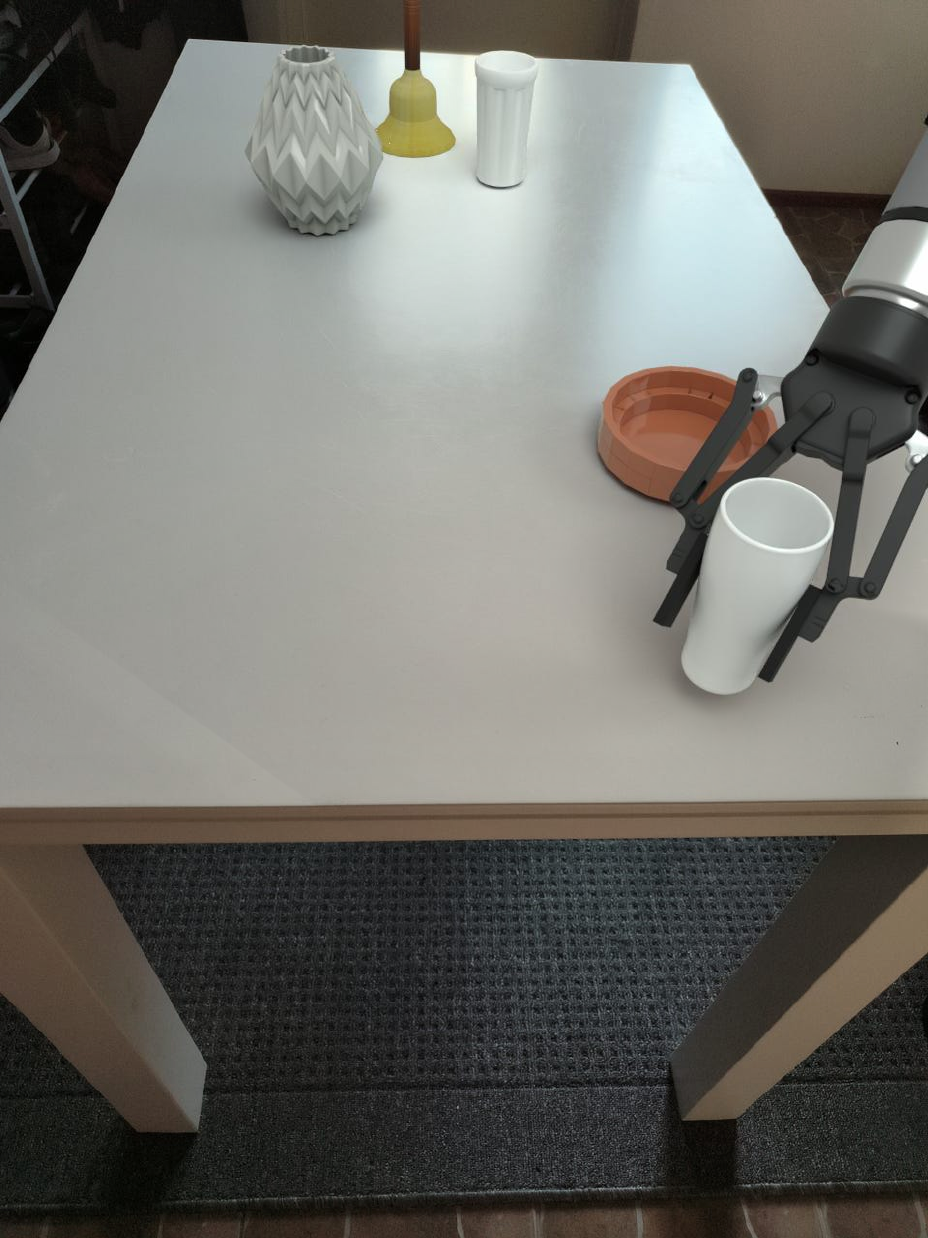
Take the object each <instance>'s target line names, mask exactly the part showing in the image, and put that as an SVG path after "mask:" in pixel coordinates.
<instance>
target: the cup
mask: <svg viewBox="0 0 928 1238" xmlns="http://www.w3.org/2000/svg"><path fill="white" fill-rule="evenodd" d="M539 67H540V63H539V61H538V59H536V58H535V57H534V56H532V55H531V54H527V53H525V52H520V51H515V50H493V51H491V50H490V51H487V52H483V53H481V54H479V55H478V56H476V57H475V60H474V76H475V78H476V178H477V179H478V180H479V182H481V183H483V184H485V185H487V186H492V187H500V188H504V187H505V188H506V187H507V188H508V187H513V186H516V185H518V184H521V182H522V181H523V180H524V170H525V163H526V154H527V146H528V138H529V130H530V121H531V112H532V105H533V97H534V90H535V82H536V80H537V78H538V74H539Z"/></svg>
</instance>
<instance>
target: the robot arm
mask: <svg viewBox="0 0 928 1238" xmlns="http://www.w3.org/2000/svg"><path fill="white" fill-rule="evenodd" d="M841 292H842V296H843V298H841V299H838V300H837V301H835V302H833V304H832V306H831V307H830V310H829V311H828V312H827V315H826V317H825V318H824V320H823V323H821V326H820V327H819V330H818V332H817V333H816V335H815V337H814V339H813V340H812V342H811V344H810V346H809V348H808V350H807V352H805V353H806V354H805V355H804V357H803V359H802V360H801V362H800V363H799V364H798V365H797V366H796V367H795V368H793V369H792V370H790V371H789V372H788V373H786V375H785V376H784V377H782V376H775V375H766V374H759V373H758V372H757V370H756V369H754V368H753V367H745V368H743V369H742V370H740V372H739V373H738V376H737V380H736V381H737V383H736V387H735V391H734V395H733V399H732V402H731V403H730V405H729V406H728V408H727V409H726V411H725V412H724V414H723V415H722V417H721V418H720V420H719V421H718V423H717V425H716V426H715V428H714V429H713V431H712V432H711V434H710V435H709V437H708V438H707V440H706V441H705V443H704V444H703V446H702V447H701V449H700V450H699V452H698V453H697V455H696V456H695V458H694V459H693V461H692V462H691V464H690V465H689V467H688V468H687V470H686V471H685V473H684V474H683V476H682V477H681V479H680V480H679V482H678V483H677V485H676V486H675V488H674V489H673V491H672V492H671V494H670V496H669V501H670V502H669V501H668V502H669V503H670V505H672V507H673V508H674V509H675V510H676V511H677V512H678V513H679V514H680V515H681V516H682V517H683V519H684V523H685V525H684V529H683V531H682V532H681V534H680V536H679V538H678V540H677V542H676V544H675V546H674V548H673V549H672V551H671V553H670V554H669V557H668V559H667V560H666V566H665V567H666V568H665V570H667V571H668V572H671V573H672V574H675V575H676V577H675V578H674V580H673V582H672V584H671V586H670V587H669V589H668V591H667V593H666V595H665V596H664V598H663V601H662V602H661V603H660V606H659V608H658V610H657V611H656V613H655V616H654V617H653V619H652V622H653V623H656V624H657V625H659V626H661V627H664V628H670V629H671V628H672V627H673V624H674V622H675V621H676V619H677V617H678V616H679V614H680V611H681V610H682V608H683V606H684V604H685V602H686V601H687V599H688V597H689V596H690V593H691V591H692V589H693V587H694V586H695V584H696V582H697V581H698V578H699V573H700V568H701V563H702V558H703V554H704V549H705V545H706V542H707V538H708V535H709V532H710V529H711V526H712V523H713V520H714V517H715V515H716V512H717V509H718V507H719V505H720V502H721V499H722V497H723V495H724V493H725V492H726V491H727V490H728V489H729V488H730V487H731V486H733V485H734V484H736V483H738V482H741V481H743V480H747V479H752V478H770V476H771V475H773V474H774V473H775V472H776V471H777V470H778V469H779V468H780V467H781V466H783V465H784V464H786V463H787V462H789V461H790V460H791V459H792V458H794V456H795V455H797V454H799V455H801V456H804V457H806V458H812V459H817V460H818V459H819V460H822V461H823V463H825V464H827V465H828V466H829V467H830V468H832V469H835V470H837V471H840V472H842V473H841V480H840V481H841V482H840V489H839V494H838V501H837V507H836V508H837V509H836V513H835V520H834V530H833V534H832V537H831V539H832V540H831V544H830V545H831V546H830V552H829V558H828V564H827V570H826V577H825V581H824V584H823V586H822V588H820V587H817V586H816V585H813V584H812V583H811V584H810V585H809V587H808V588H807V590H806V592H805V593H804V595H803V597H802V599H801V600H800V602H799V604H798V605H797V607H796V609H795V610H794V612H793V614H792V615H791V617H790V618H789V620H788V622H787V623H786V625H785V626H784V628H783V630H782V631H781V633H780V635H779V636H778V638H777V640H776V642H775V644H774V645H773V647H772V650H771V652H769V654H768V657H767V659H765V662H764V664H763V666H762V667H761V668H760V670H759V672H758V674H757V675H756V678H758V679H761V680H763V681H765V683H768V684H769V683H773V682H774V680H775V678H776V676H777V675H778V673H779V671H780V670H781V667H782V666H783V664H784V662H785V661H786V659H787V657H788V655H789V653H790V652H791V650H792V649H793V647H794V645H795V643H796V641H797V639H798V638H801V639H803V640H805V641H807V642H809V643H812V644H813V643H815V641H817V640H818V639H820V637H821V635H822V634H823V632H824V630H825V628H826V626H827V625H828V623H829V621H830V620H831V618H832V616H833V614H834V612H835V611H836V609H837V607H838V606H839V604H840V603H841V602H842V601H843V600H847V599H856V600H857V599H858V600H865V601H874V600H877V598H879V596H880V595H881V592H882V591H883V588H884V587H885V583H886V582H887V579H888V577H889V575H890V572H891V570H892V568H893V566H894V563H895V561H896V559H897V557H898V554H899V553H900V549H901V548H902V546H903V543H904V541H905V539H906V537H907V534H908V532H909V529H910V527H911V525H912V523H913V520H914V518H915V516H916V514H917V511H918V509H919V507H920V505H921V502H922V501H923V498H924V495H925V494H926V491H927V490H928V436H927V435H926V434H924V433H922V432H921V431H920V430H918V428H919V413H920V410H921V408H922V406H923V404H924V402H925V401H926V399H927V397H928V125H927V126H926V130H925V131H924V133H923V135H922V137H921V139H920V140H919V143H918V145H917V147H916V148H915V151H914V152H913V155H912V156H911V159H910V161H909V162H908V164H907V166H906V167H905V170H904V172H903V173H902V175H901V177H900V180H899V181H898V183H897V185H896V187H895V189H894V191H893V193H892V195H891V197H890V198H889V201H887V204H886V206H885V208H884V210H883V212H882V214H881V216H880V218H879V220H878V223H877V225H876V226H875V228H874V229H873V230H872V232H871V233H870V235H869V237H868V239H867V242H866V243H865V245H864V247H863V248H862V250H861V252H860V254H859V255H858V257H857V259H856V261H855V263H854V265H853V266H852V268H851V270H850V272H849V273H848V275H847V277H846V279H845V281H844V283H843V285H842V288H841ZM778 397H780V398H781V404H782V411H783V417H784V423H783V424H782V425H781V426H780V427H778V430H777V431H776V432H775V433H774V434H773V435H772V436H771V437H770V438H769V439H768V441H767V442H766V444H765V445H764V446H763V447H761V448H760V449H759V450H758V451H757V452H756V453H755V454H754V455H753V456H752V457H751V458H750V459H749V460H748V461H746V462H745V463H744V464H743V465H742V466H741V467H740V468H739V469H738V470H737V471H736V472H735V473H734V474H733V475H731V476H730V477H729V478H728V479H727V480H726V481H725V482H724V483H723V484H722V485H721V486H720V487H719V488H718V489H717V490H715V491H714V492H713V493H712V494H711V495H710V496H709V497H708V498H707V499H706V500H705V501H704V502H703V503H702V504H700V505H698V504H697V501H698V500H699V498H700V497H701V495H702V494H703V492H704V491H705V489H706V488H707V486H708V485H709V483H710V482H711V480H712V479H713V477H714V476H715V474H716V473H717V471H718V470H719V468H720V467H721V465H722V464H723V462H724V461H725V460H726V458H727V457H728V455H729V454H730V452H731V451H732V449H733V448H734V446H735V445H736V443H737V442H738V440H739V439H740V437H741V436H742V434H743V433H744V431H745V430H746V428H747V427H748V425H749V423H750V422H751V420H752V418H753V416H754V413H755V410H763V409H764V408H766V407H767V405H768V406H769V404H770V401H772V400H773V399H774V398H778ZM902 447H905V448H906V449H907V451H908V455H907V457H906V459H905V462H904V468H905V470H906V472H907V473H908V474H909V475H908V476H907V478H906V480H905V482H904V483H903V485H902V488H901V491H900V493H899V495H898V497H897V500H896V502H895V504H894V506H893V509H892V511H891V512H890V515H889V518H888V520H887V522H886V525H885V527H884V529H883V531H882V533H881V536H880V537H879V540H878V542H877V545H876V547H875V549H874V552H873V554H872V556H871V558H870V561H869V563H868V565H867V568H866V570H865V572H864V575H863V577H861V576H852V575H851V574H850V573H851V566H852V560H853V556H854V555H853V554H854V548H855V543H856V535H857V529H858V524H859V523H858V522H859V517H860V516H859V515H860V510H861V505H862V497H863V492H864V491H863V490H864V487H865V479H866V473H867V467H868V465H869V464H871V463H873V462H875V461H877V460H879V459H881V458H883V457H885V456H886V455H889V454H891V453H893V452H895V451H897V450H898V449H900V448H902ZM850 575H851V576H850Z"/></svg>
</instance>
